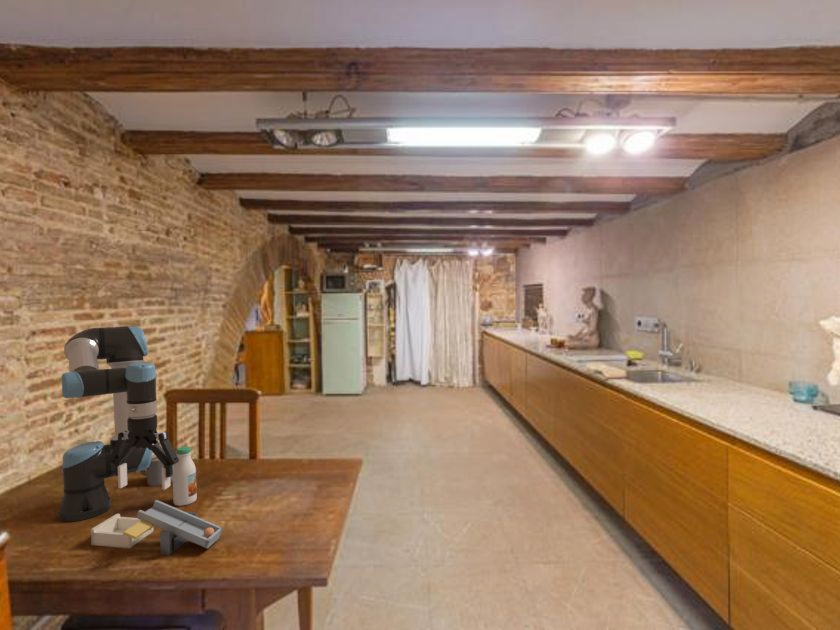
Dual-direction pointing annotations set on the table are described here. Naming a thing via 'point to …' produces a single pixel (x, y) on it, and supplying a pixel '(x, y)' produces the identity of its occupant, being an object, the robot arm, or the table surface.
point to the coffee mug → (155, 472)
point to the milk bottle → (184, 478)
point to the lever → (174, 524)
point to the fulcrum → (171, 540)
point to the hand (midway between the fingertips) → (144, 487)
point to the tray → (116, 532)
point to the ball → (208, 532)
